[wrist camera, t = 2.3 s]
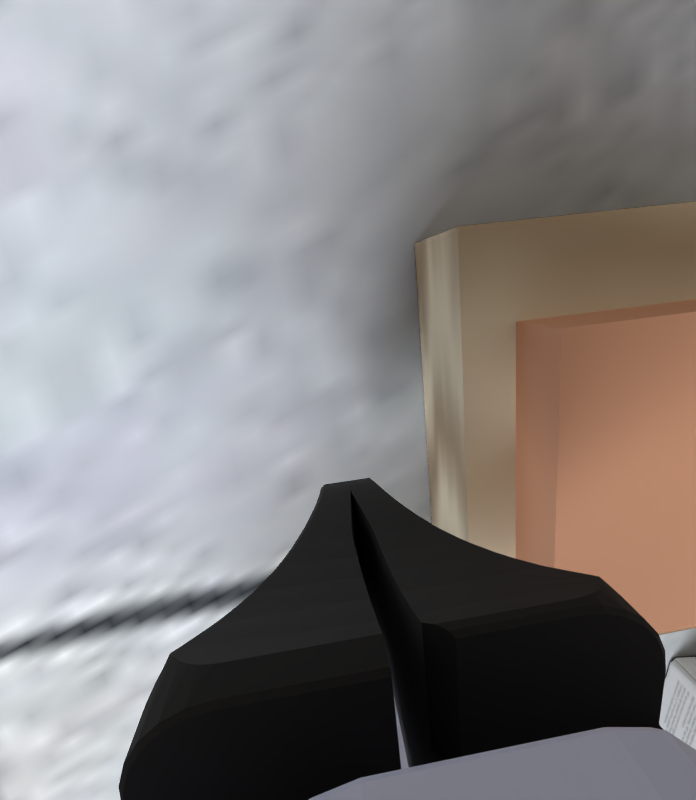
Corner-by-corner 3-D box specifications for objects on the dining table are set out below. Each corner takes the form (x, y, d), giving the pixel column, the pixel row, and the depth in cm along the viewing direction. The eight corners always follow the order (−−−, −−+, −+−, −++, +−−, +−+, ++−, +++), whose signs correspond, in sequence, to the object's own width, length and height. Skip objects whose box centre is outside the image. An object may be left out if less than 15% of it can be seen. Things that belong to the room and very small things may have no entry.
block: (686, 570, 14) (749, 616, 12) (515, 601, 13) (551, 654, 11) (724, 295, 11) (809, 296, 9) (516, 321, 11) (561, 328, 9)
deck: (652, 550, 19) (743, 618, 15) (435, 588, 18) (472, 670, 14) (687, 214, 15) (824, 187, 11) (414, 243, 14) (457, 226, 10)
